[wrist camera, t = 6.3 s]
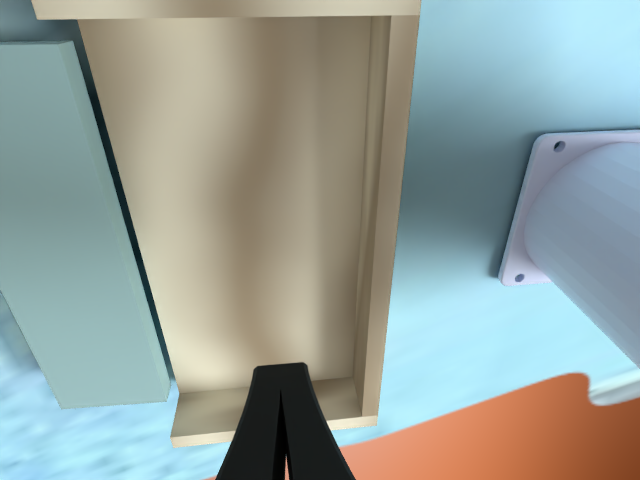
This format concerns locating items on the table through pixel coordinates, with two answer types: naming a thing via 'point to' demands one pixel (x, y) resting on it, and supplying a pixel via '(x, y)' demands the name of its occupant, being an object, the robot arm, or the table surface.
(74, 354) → the tailgate
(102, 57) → the beige tray
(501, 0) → the table surface
